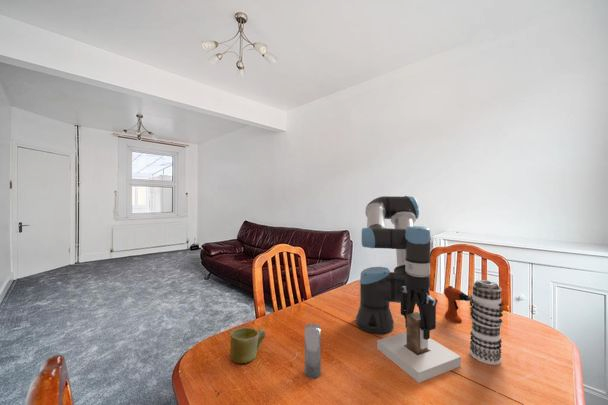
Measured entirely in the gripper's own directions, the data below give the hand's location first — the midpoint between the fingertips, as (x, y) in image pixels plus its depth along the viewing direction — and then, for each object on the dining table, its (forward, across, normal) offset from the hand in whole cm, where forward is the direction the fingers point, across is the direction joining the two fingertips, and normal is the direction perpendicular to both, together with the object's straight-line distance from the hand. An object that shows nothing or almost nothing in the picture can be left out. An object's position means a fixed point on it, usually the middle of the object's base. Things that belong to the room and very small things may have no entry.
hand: (416, 342), depth 86 cm
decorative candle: (+5, +9, +21) cm, 23 cm away
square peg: (+5, 0, 0) cm, 5 cm away
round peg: (+5, -7, -35) cm, 36 cm away
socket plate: (+5, 0, 0) cm, 5 cm away
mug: (+5, -24, -51) cm, 57 cm away
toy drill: (+5, -9, +34) cm, 36 cm away
